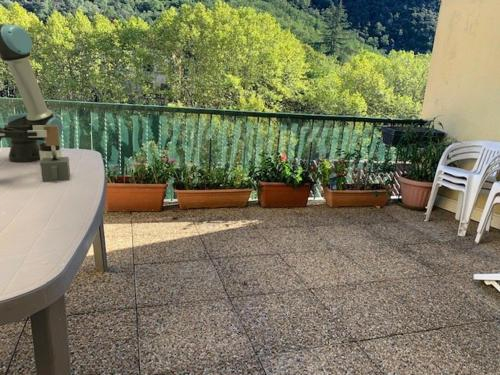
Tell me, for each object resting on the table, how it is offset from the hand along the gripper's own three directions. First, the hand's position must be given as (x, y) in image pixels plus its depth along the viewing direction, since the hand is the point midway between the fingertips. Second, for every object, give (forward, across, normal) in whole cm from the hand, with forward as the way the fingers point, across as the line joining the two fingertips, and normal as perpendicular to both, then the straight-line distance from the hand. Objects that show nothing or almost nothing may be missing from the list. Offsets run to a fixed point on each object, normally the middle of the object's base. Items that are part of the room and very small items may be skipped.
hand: (48, 130), depth 160 cm
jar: (-2, -17, -21) cm, 27 cm away
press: (+1, +1, -20) cm, 21 cm away
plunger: (+1, -1, -13) cm, 13 cm away
